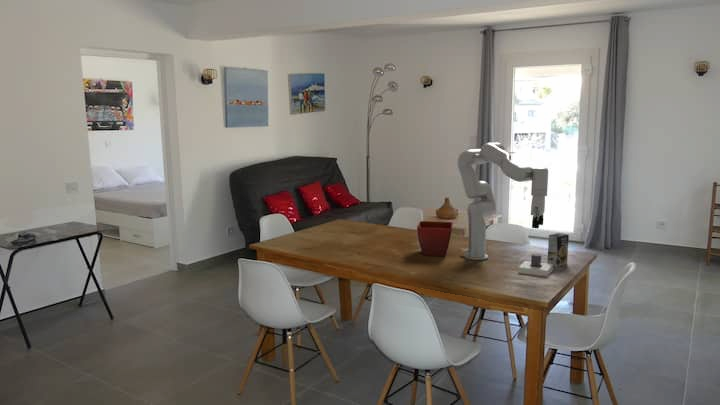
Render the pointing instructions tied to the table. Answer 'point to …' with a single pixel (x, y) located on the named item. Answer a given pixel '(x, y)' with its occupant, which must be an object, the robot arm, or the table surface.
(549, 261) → the coffee box
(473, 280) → the table surface
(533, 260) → the dark grey rectangular block
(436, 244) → the plant pot
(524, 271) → the outlet
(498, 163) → the robot arm
